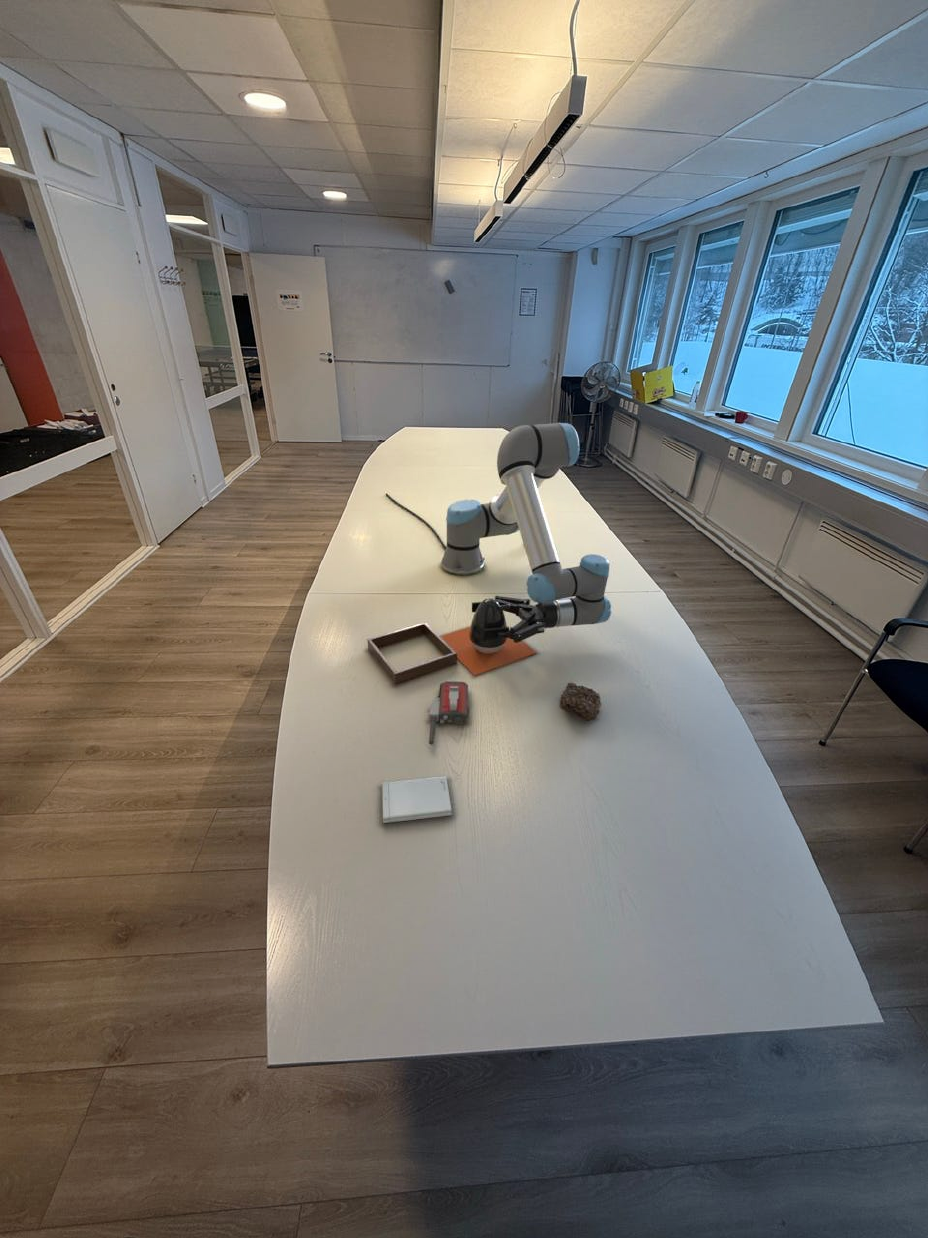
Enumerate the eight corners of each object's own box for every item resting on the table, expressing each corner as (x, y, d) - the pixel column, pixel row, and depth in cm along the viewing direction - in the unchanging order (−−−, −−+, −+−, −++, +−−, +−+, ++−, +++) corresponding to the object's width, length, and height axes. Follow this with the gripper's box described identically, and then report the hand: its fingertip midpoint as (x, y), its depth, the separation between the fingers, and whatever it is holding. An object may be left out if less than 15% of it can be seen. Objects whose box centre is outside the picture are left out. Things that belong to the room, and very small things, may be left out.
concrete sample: (591, 731, 111) (595, 713, 108) (549, 713, 115) (552, 697, 113) (608, 702, 119) (612, 685, 117) (568, 687, 124) (571, 671, 121)
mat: (436, 638, 141) (436, 637, 141) (494, 620, 150) (494, 618, 150) (474, 676, 127) (474, 675, 127) (536, 653, 136) (536, 652, 136)
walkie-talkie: (432, 687, 123) (426, 748, 106) (432, 673, 120) (425, 733, 103) (468, 688, 123) (467, 749, 105) (468, 674, 120) (468, 734, 103)
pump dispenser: (504, 661, 132) (508, 612, 124) (465, 656, 133) (467, 607, 126) (509, 640, 140) (513, 592, 132) (472, 635, 142) (474, 588, 134)
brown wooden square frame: (368, 649, 136) (367, 639, 134) (425, 632, 144) (425, 622, 142) (395, 685, 123) (394, 674, 121) (456, 664, 131) (457, 653, 129)
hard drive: (446, 775, 98) (382, 781, 96) (451, 810, 91) (382, 818, 89) (446, 781, 98) (382, 787, 97) (451, 816, 91) (383, 824, 90)
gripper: (569, 651, 127) (488, 659, 123) (537, 603, 148) (467, 608, 144) (573, 626, 123) (489, 634, 119) (540, 580, 144) (468, 585, 140)
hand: (477, 620), depth 132 cm, fingers open, 13 cm apart
